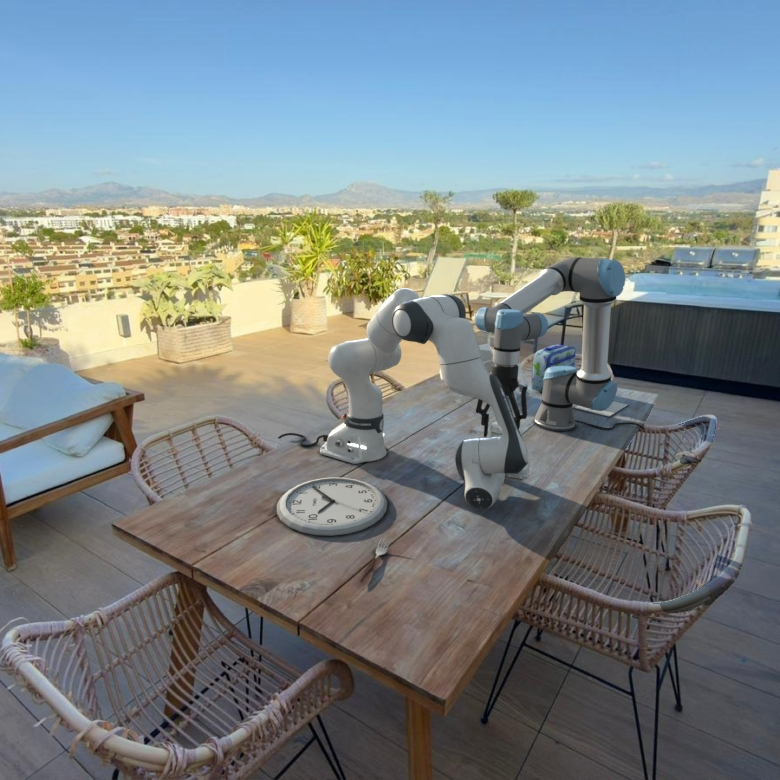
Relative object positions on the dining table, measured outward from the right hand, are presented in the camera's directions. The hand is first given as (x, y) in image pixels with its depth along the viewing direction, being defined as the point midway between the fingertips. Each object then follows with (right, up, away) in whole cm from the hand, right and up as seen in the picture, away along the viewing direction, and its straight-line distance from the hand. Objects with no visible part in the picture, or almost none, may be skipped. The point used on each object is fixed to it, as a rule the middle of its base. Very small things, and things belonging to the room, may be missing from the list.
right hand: (499, 437), depth 158 cm
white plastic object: (+9, +13, +86) cm, 87 cm away
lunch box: (+44, +15, +92) cm, 103 cm away
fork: (-37, -25, -39) cm, 59 cm away
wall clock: (-49, -17, -15) cm, 54 cm away
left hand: (0, -6, +3) cm, 6 cm away
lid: (0, +3, -1) cm, 4 cm away
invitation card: (+59, +7, +69) cm, 90 cm away
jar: (0, -12, +4) cm, 13 cm away
